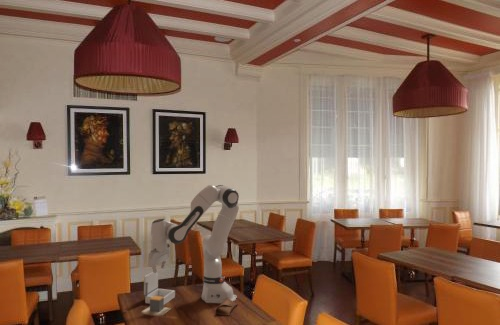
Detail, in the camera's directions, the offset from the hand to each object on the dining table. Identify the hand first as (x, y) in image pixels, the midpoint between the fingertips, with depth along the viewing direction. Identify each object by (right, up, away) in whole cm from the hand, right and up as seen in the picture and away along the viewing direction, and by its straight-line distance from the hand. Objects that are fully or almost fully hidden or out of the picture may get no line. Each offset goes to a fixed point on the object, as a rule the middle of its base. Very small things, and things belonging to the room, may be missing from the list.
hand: (159, 270), depth 229 cm
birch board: (0, -22, -5) cm, 23 cm away
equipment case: (-2, -22, +11) cm, 25 cm away
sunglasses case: (+40, -23, 0) cm, 46 cm away
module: (0, -21, -5) cm, 22 cm away
